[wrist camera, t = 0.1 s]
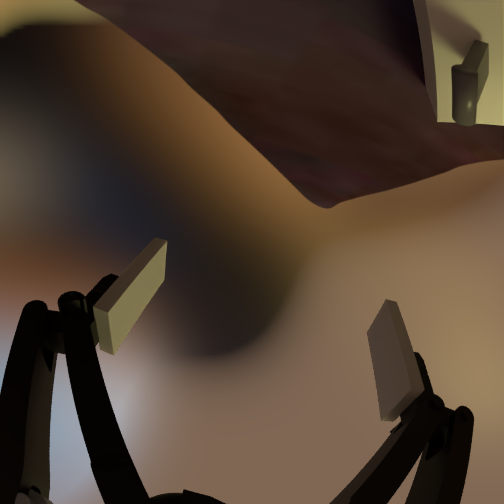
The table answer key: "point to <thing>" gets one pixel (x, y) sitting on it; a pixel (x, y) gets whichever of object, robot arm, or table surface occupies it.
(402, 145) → the table surface
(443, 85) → the beige rectangular box
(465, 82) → the lever
